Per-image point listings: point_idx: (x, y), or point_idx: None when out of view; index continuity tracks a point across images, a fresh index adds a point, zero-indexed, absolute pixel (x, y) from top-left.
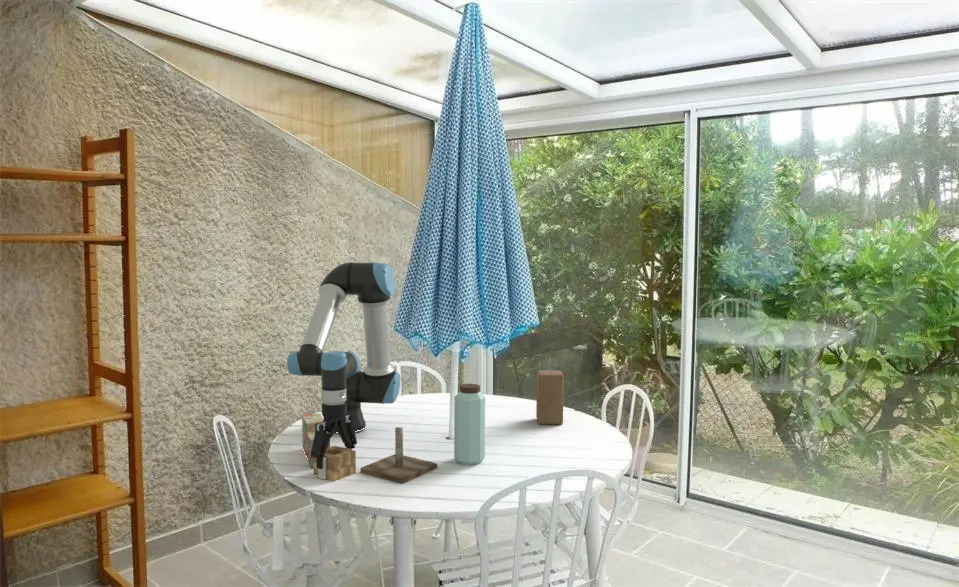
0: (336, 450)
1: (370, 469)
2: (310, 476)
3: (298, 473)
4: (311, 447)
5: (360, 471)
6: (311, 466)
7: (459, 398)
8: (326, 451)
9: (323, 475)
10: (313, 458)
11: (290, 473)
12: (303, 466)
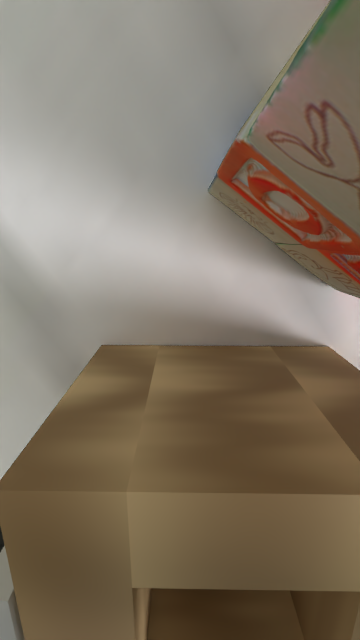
0: (346, 593)
1: None
2: (72, 342)
3: (51, 207)
4: (265, 133)
5: None
6: (213, 195)
7: None
8: (185, 585)
9: None
10: (41, 428)
11: (3, 143)
12: (205, 83)
